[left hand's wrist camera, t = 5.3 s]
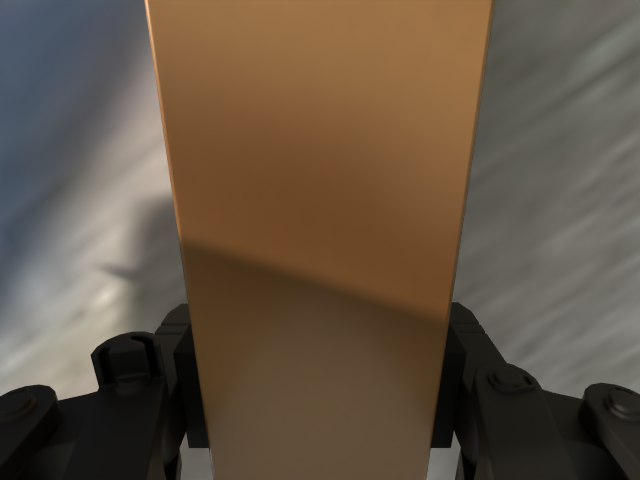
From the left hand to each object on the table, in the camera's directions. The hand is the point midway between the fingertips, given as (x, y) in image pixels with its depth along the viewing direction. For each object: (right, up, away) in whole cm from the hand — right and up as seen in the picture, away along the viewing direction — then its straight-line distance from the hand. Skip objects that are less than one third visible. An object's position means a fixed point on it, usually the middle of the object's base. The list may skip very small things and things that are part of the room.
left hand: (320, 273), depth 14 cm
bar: (0, +30, -11) cm, 32 cm away
